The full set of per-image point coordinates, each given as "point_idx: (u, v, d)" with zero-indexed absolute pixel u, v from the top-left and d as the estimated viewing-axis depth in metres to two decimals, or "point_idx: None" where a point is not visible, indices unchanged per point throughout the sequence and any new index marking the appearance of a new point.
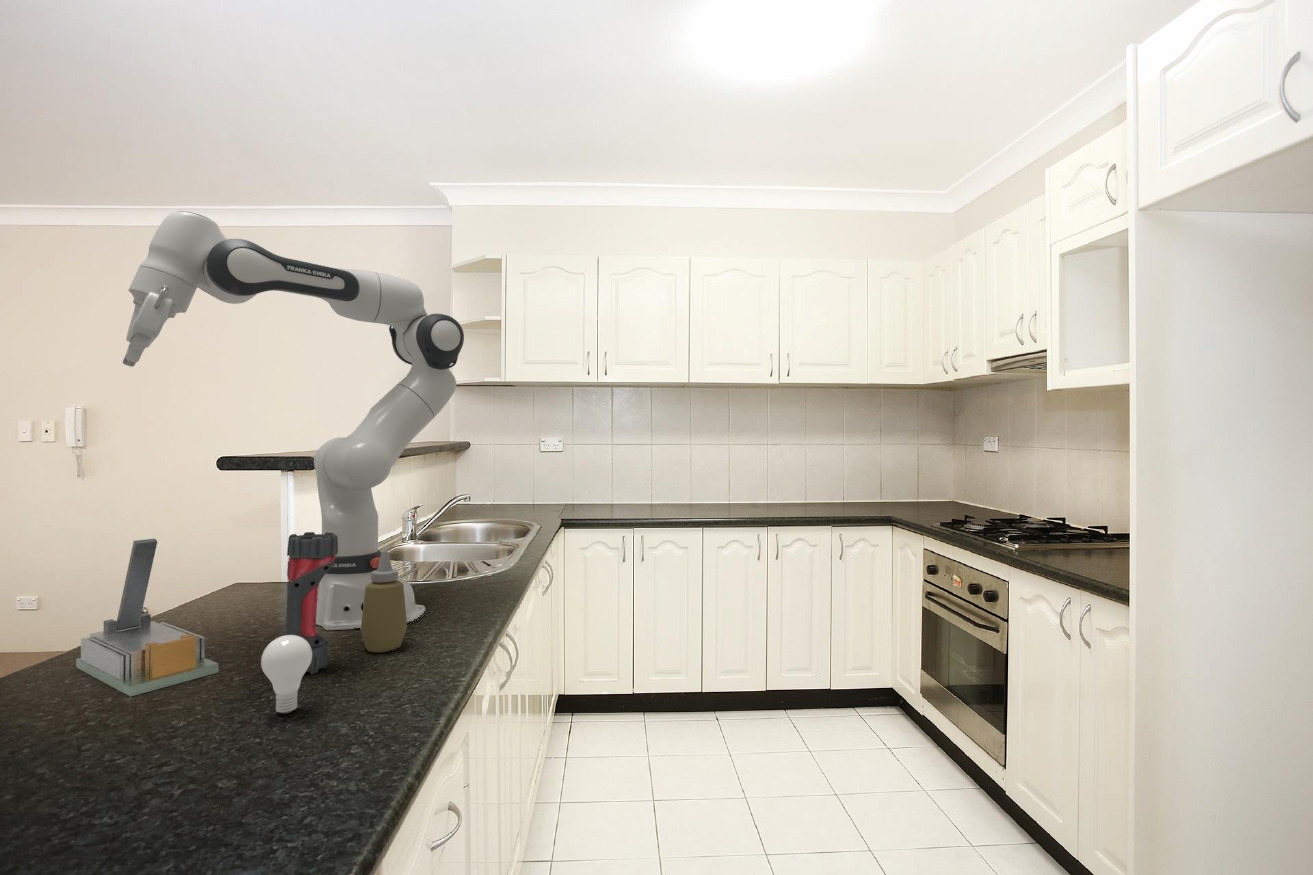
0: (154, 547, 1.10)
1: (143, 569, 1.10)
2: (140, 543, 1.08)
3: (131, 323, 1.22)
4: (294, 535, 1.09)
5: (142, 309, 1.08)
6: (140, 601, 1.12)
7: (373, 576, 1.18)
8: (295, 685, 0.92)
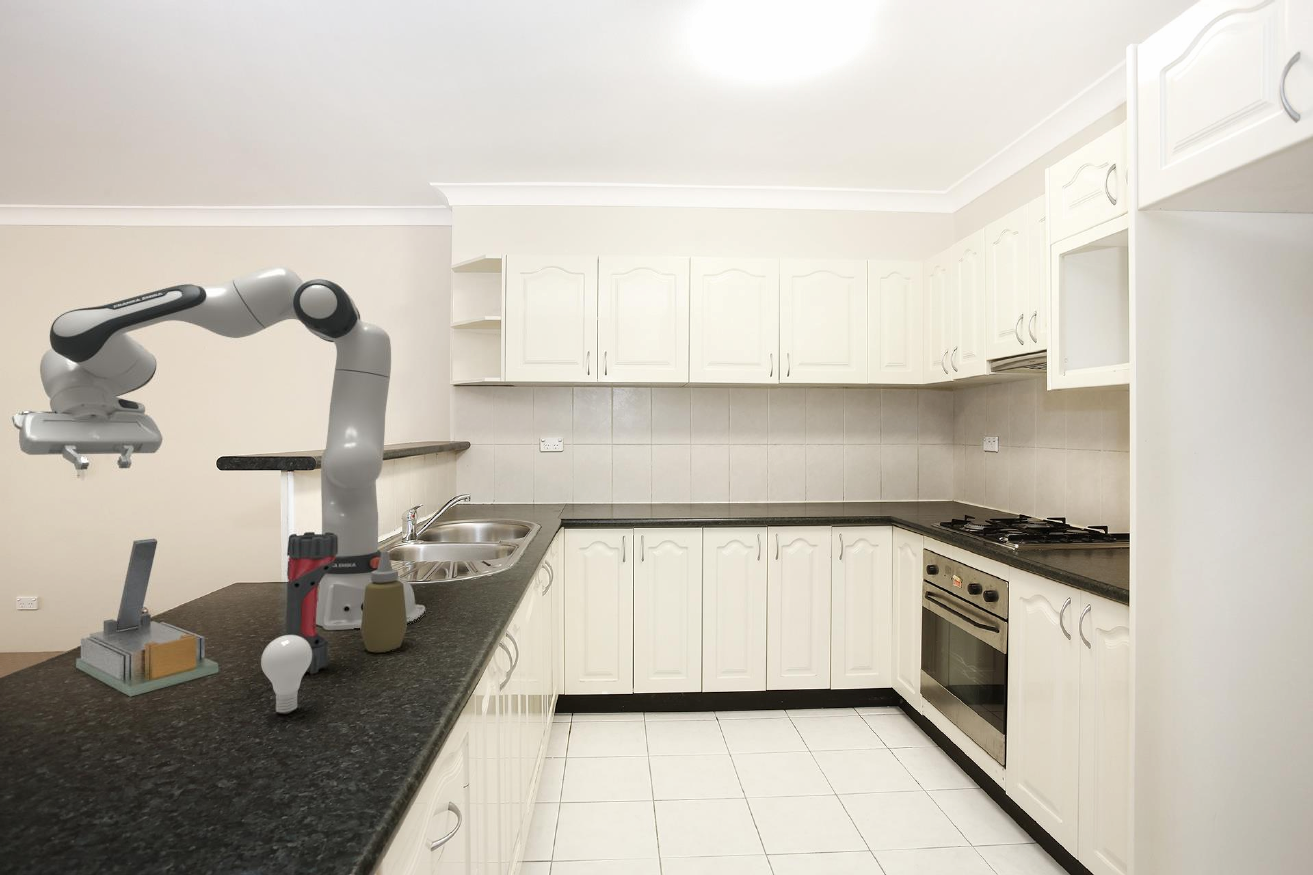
0: (154, 547, 1.10)
1: (143, 569, 1.10)
2: (140, 543, 1.08)
3: None
4: (294, 535, 1.09)
5: None
6: (140, 601, 1.12)
7: (373, 576, 1.18)
8: (295, 685, 0.92)
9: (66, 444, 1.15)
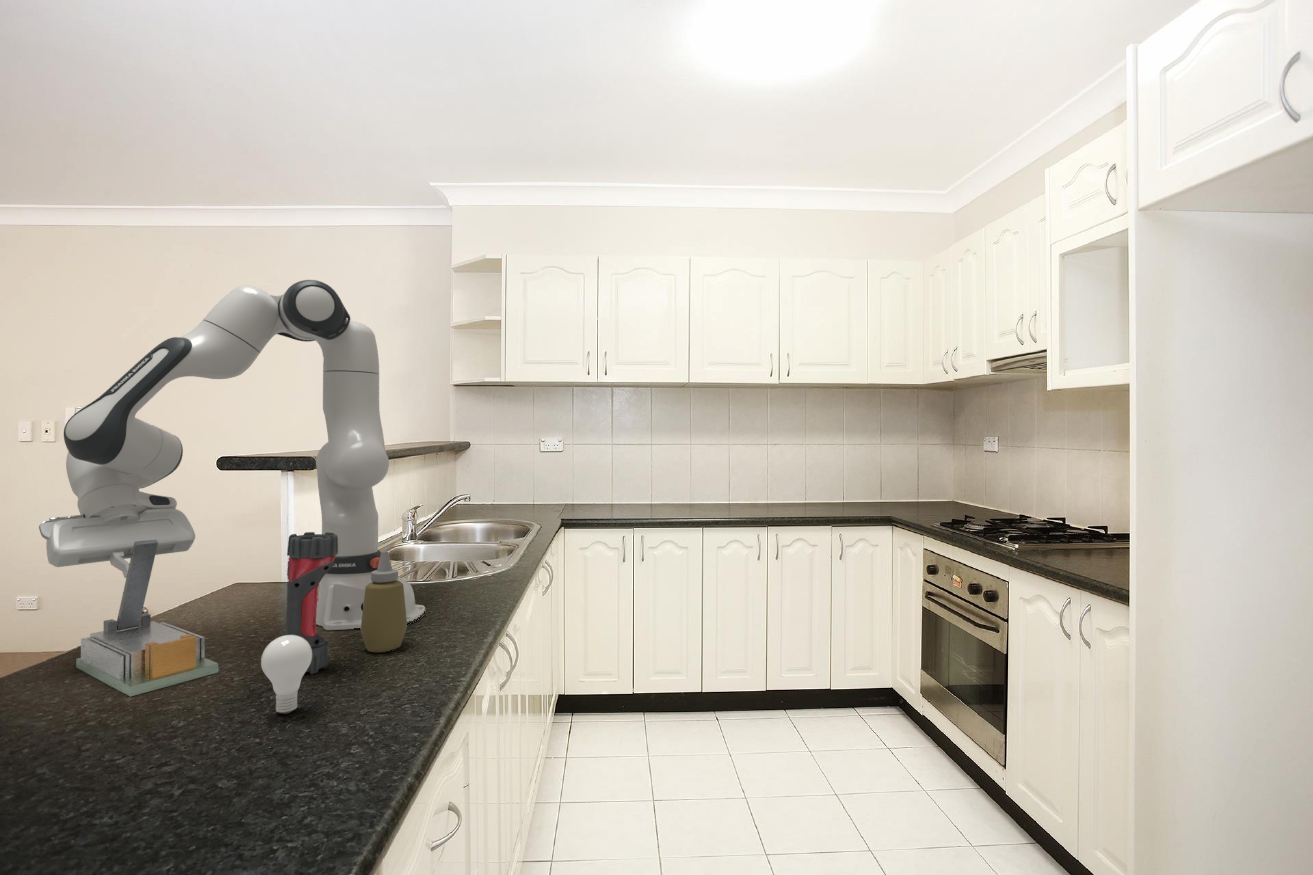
0: (155, 548, 1.10)
1: (143, 570, 1.10)
2: (141, 544, 1.08)
3: None
4: (294, 535, 1.09)
5: (47, 550, 1.06)
6: (140, 601, 1.12)
7: (373, 576, 1.18)
8: (295, 685, 0.92)
9: (96, 553, 1.08)
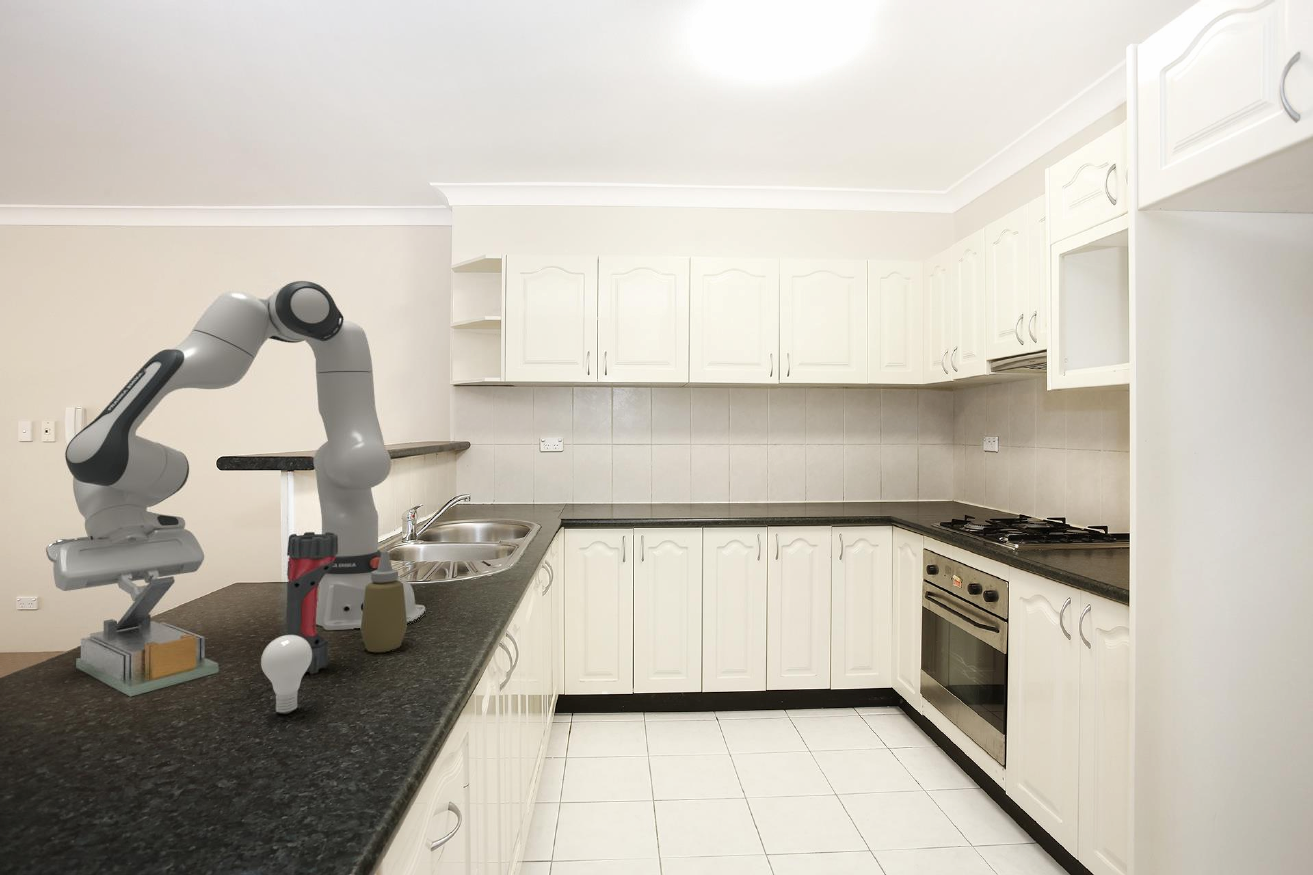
0: (170, 585, 1.06)
1: (154, 597, 1.08)
2: (157, 584, 1.04)
3: None
4: (294, 535, 1.09)
5: (54, 573, 1.04)
6: (144, 614, 1.11)
7: (373, 576, 1.18)
8: (295, 685, 0.92)
9: (104, 576, 1.06)
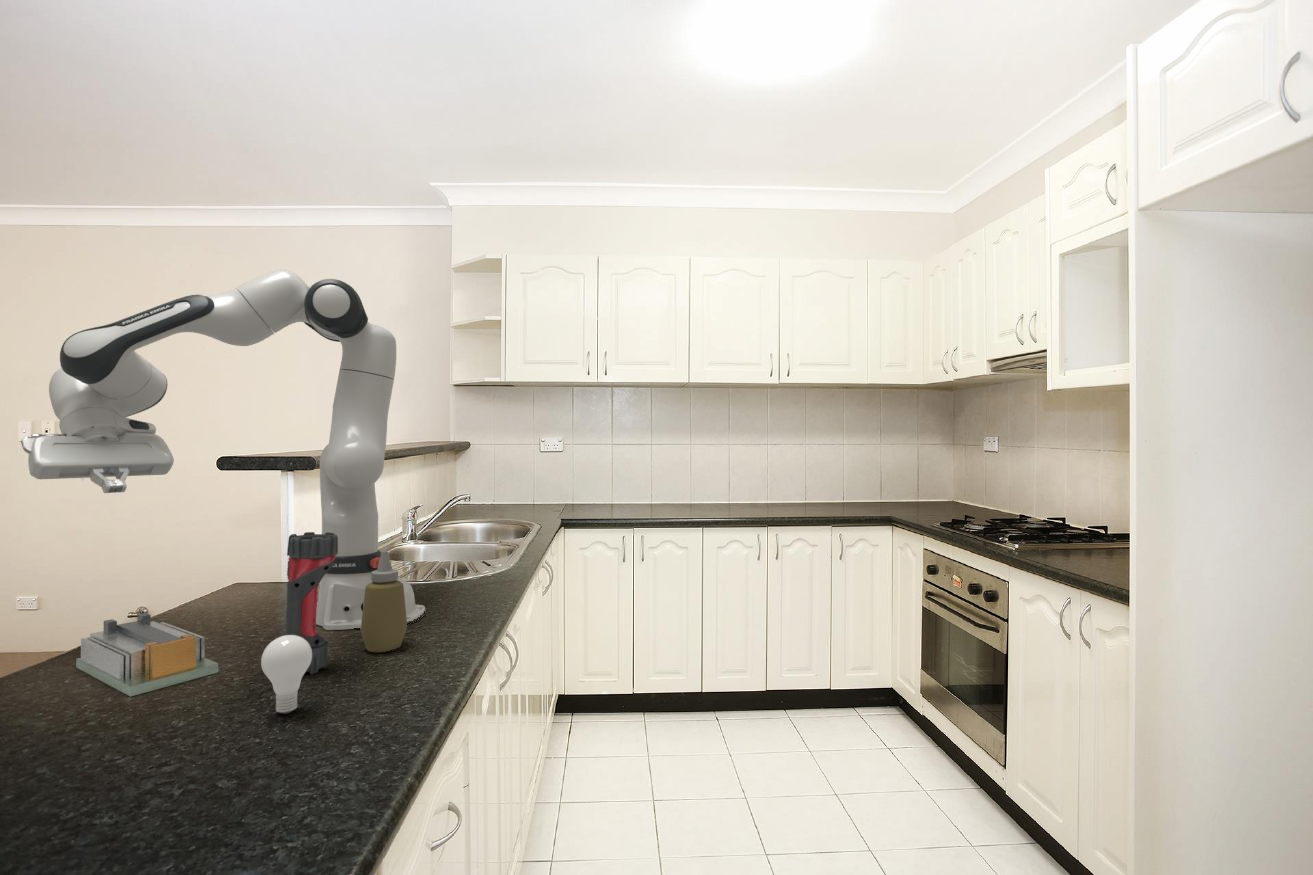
0: None
1: None
2: None
3: None
4: (294, 535, 1.09)
5: (29, 464, 1.11)
6: None
7: (373, 576, 1.18)
8: (295, 685, 0.92)
9: (76, 468, 1.13)
